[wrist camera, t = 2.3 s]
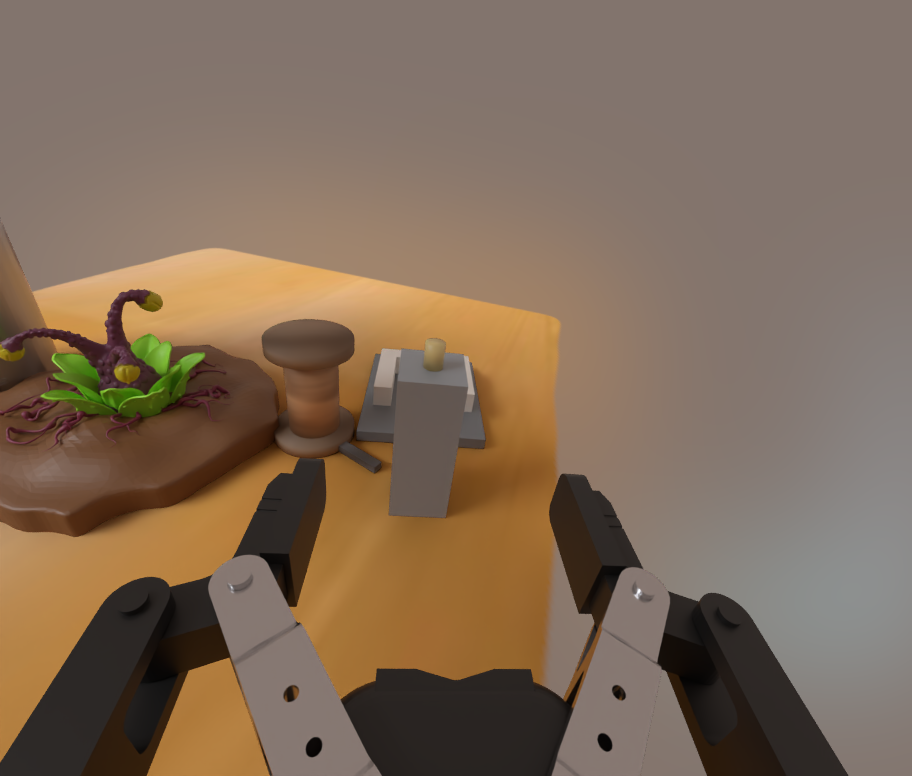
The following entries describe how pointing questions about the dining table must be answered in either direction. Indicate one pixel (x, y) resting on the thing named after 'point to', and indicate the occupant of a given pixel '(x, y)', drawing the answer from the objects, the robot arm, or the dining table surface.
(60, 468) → the plant
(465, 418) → the grey u-shaped stand base
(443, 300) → the dining table surface
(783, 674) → the robot arm
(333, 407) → the bobbin
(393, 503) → the gray block with knob
